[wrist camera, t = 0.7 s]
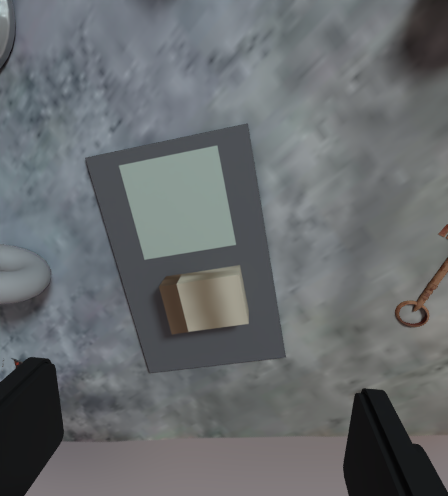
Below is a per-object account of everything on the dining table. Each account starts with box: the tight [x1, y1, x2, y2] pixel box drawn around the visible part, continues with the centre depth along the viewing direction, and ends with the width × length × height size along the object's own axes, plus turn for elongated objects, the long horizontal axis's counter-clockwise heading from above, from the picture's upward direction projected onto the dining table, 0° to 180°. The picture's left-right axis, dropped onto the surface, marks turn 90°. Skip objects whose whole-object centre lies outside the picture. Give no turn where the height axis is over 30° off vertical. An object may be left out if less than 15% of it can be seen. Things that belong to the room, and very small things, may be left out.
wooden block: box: [159, 265, 249, 334], centre depth 38 cm, size 9×6×3 cm
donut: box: [0, 244, 51, 304], centre depth 36 cm, size 10×3×10 cm, turn 70°
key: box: [395, 224, 448, 327], centre depth 37 cm, size 6×1×15 cm
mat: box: [85, 124, 286, 373], centre depth 39 cm, size 18×28×1 cm, turn 11°
